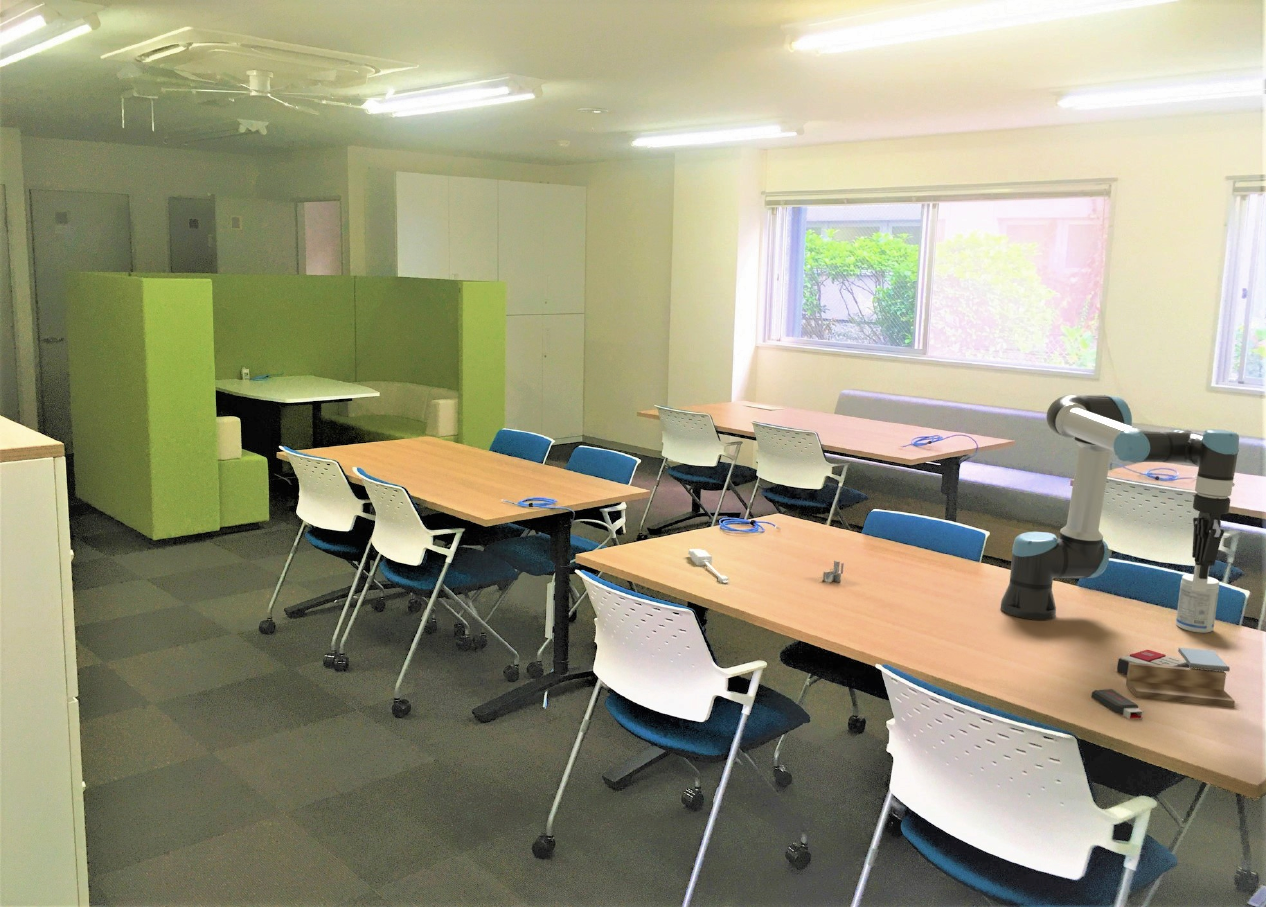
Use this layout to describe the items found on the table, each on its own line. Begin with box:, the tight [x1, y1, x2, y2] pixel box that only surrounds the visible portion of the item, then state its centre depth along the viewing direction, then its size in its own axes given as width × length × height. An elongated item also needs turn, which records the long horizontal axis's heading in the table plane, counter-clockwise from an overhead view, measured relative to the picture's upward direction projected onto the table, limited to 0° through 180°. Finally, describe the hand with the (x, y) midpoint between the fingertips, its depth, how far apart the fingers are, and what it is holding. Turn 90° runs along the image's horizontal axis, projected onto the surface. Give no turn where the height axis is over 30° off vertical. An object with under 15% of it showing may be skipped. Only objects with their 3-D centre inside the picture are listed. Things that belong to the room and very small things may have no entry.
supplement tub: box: [1175, 573, 1220, 634], centre depth 286 cm, size 10×10×15 cm
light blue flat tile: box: [1177, 647, 1231, 672], centre depth 242 cm, size 8×10×1 cm
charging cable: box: [687, 548, 730, 584], centre depth 328 cm, size 5×32×3 cm, turn 15°
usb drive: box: [1090, 688, 1144, 720], centre depth 228 cm, size 5×12×3 cm, turn 11°
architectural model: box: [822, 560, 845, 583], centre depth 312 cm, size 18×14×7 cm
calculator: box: [1116, 649, 1190, 676], centre depth 251 cm, size 11×4×15 cm
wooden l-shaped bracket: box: [1125, 662, 1236, 708], centre depth 237 cm, size 21×8×6 cm, turn 80°
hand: (1198, 590), depth 244 cm, fingers closed
